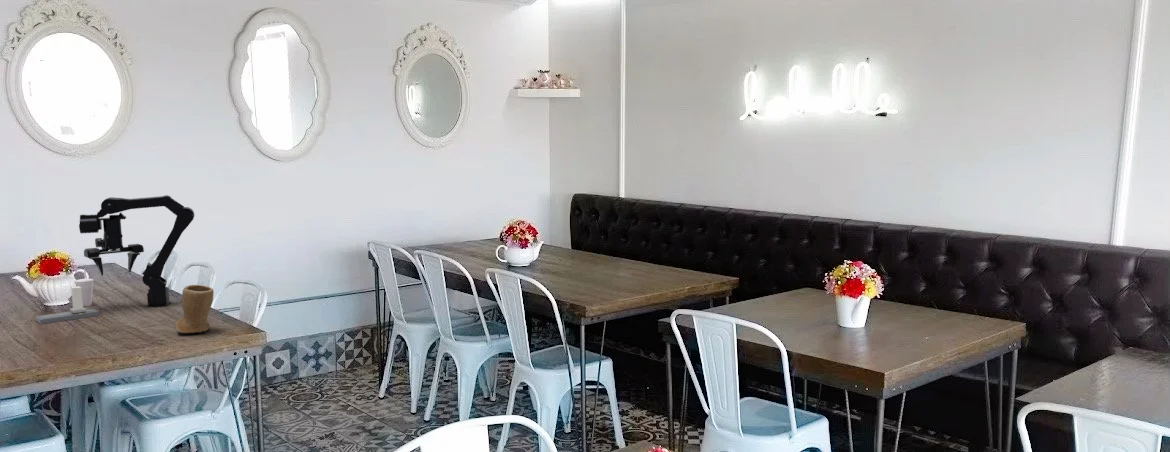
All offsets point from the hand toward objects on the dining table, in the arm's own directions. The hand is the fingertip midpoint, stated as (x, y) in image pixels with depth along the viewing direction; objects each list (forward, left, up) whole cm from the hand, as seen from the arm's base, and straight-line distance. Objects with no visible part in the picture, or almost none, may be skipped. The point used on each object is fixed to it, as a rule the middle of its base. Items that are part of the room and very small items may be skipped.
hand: (115, 273), depth 317 cm
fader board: (+11, +14, -13) cm, 22 cm away
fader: (+9, +12, -11) cm, 19 cm away
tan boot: (-41, +41, -13) cm, 59 cm away
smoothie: (+15, -8, -13) cm, 21 cm away
